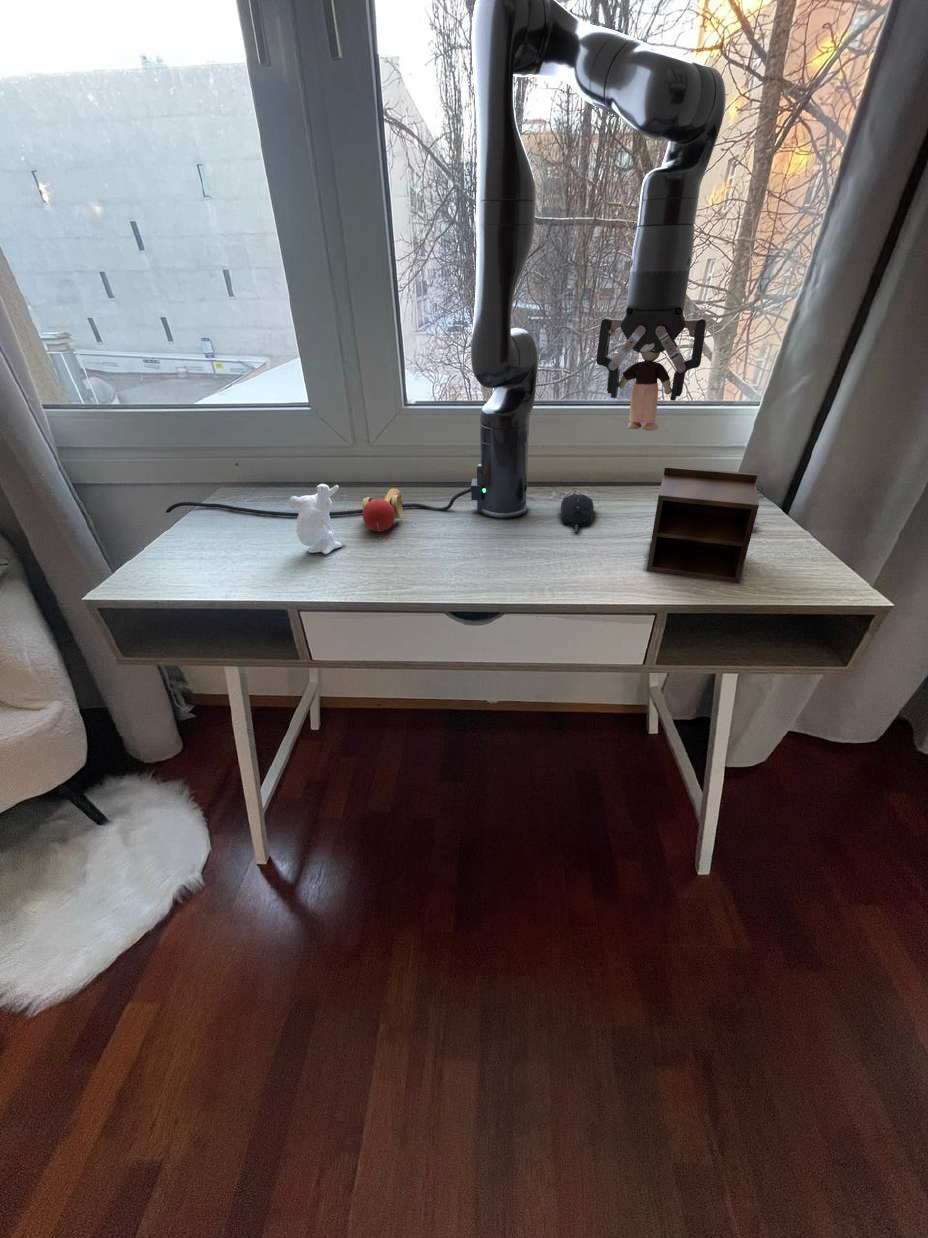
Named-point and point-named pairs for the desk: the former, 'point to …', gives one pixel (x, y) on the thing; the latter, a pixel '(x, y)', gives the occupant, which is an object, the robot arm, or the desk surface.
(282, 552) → the desk surface
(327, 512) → the white sculpted figure
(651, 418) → the grandmother figurine
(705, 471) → the rack
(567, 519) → the gaming mouse
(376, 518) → the kendama
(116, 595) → the desk surface
